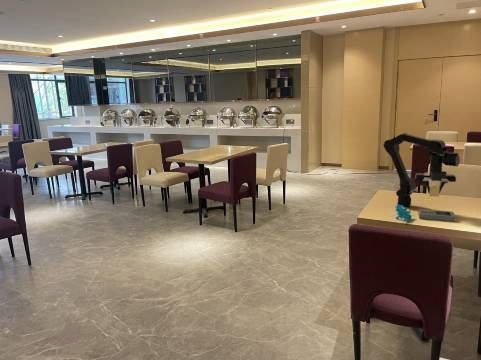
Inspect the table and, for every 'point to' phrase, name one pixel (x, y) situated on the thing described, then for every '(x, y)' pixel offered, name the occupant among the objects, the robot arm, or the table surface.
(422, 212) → the panel
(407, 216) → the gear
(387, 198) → the table surface
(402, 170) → the robot arm
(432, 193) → the wooden block
